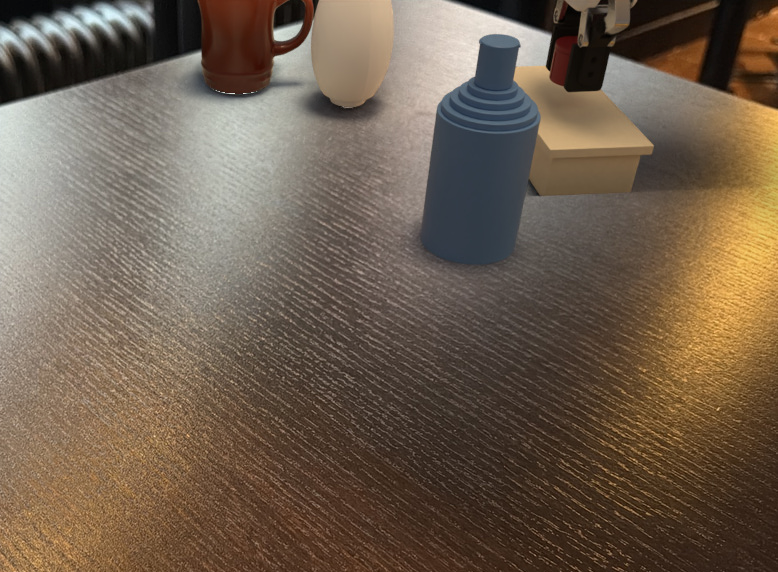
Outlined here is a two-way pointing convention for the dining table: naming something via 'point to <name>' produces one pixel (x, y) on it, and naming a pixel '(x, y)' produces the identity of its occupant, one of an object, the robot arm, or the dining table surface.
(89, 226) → the dining table surface
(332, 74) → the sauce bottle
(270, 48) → the mug
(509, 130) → the bottle
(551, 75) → the cap
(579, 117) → the sill
